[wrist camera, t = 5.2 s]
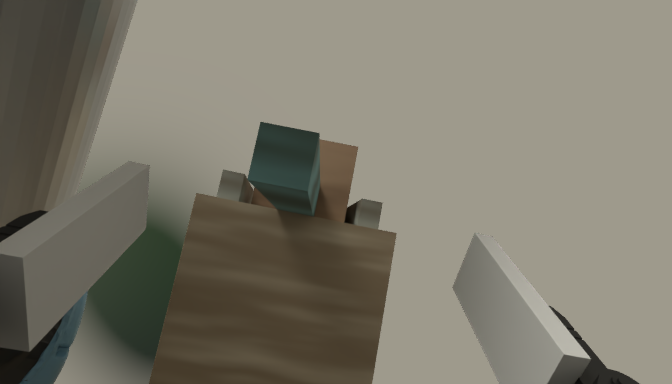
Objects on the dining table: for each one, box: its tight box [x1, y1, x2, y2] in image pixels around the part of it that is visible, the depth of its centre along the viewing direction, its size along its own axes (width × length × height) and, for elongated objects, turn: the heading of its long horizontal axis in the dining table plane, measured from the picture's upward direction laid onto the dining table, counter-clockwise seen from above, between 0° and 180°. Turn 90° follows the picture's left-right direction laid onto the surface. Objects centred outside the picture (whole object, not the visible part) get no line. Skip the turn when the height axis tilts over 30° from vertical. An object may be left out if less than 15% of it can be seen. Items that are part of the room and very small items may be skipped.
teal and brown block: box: [247, 122, 358, 223], centre depth 26 cm, size 20×7×6 cm, turn 2°
